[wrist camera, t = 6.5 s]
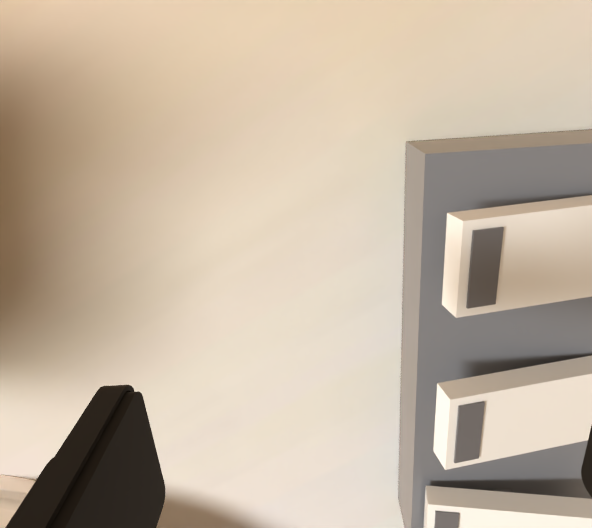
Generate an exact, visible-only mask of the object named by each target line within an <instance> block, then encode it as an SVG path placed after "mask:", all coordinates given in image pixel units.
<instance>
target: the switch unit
mask: <svg viewBox="0 0 592 528" xmlns="http://www.w3.org/2000/svg"><path fill="white" fill-rule="evenodd" d="M589 195H592V129H589V130H574V131H559V132H544V133H529V134H514V135H499V136H484V137H469V138H454V139H439V140H424V141H409V142H406V163H405V209H404V255H403V301H402V348H401V394H400V440H399V486H398V499H399V504H400V509H401V513H402V518H403V523H404V527H405V528H423V527H424V507H425V488H426V486H438V487H451V488H463V489H475V490H488V491H500V492H513V493H525V494H538V495H550V496H562V497H575V498H587V499H592V497H591V496H590V494H589V493H588V491H587V490H586V488H585V486H584V484H583V481H582V477H581V468H582V464H583V460H584V455H585V451H586V447H587V443H588V440H587V441H582V442H577V443H572V444H567V445H563V446H558V447H553V448H548V449H544V450H539V451H534V452H529V453H524V454H520V455H515V456H510V457H505V458H500V459H496V460H491V461H486V462H481V463H476V464H472V465H467V466H462V467H457V468H452V469H448V470H445V469H444V467H443V466H442V464H441V463H440V461H439V459H438V458H437V456H436V455H435V453H434V451H433V447H434V430H435V413H436V396H437V383H441V382H446V381H452V380H457V379H463V378H469V377H474V376H480V375H485V374H491V373H497V372H502V371H508V370H513V369H519V368H525V367H530V366H536V365H541V364H547V363H552V362H558V361H564V360H569V359H575V358H580V357H586V356H592V297H585V298H579V299H573V300H566V301H560V302H554V303H547V304H541V305H535V306H528V307H522V308H516V309H509V310H503V311H497V312H490V313H484V314H478V315H471V316H465V317H459V318H456V317H455V316H454V315H452V314H451V313H450V312H449V311H448V310H447V309H446V308H445V307H444V306H443V305H442V292H443V275H444V258H445V241H446V223H447V213H450V212H458V211H466V210H474V209H482V208H491V207H499V206H507V205H515V204H523V203H532V202H540V201H548V200H556V199H564V198H572V197H581V196H589Z"/></svg>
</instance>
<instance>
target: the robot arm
mask: <svg viewBox="0 0 592 528" xmlns="http://www.w3.org/2000/svg"><path fill="white" fill-rule="evenodd" d="M581 477H582V481H583V484H584V486H585V488H586V490H587V491H588V493H589V494H590V496H591V497H592V426H591V430H590V434H589V438H588V443H587V447H586V451H585V455H584V460H583V464H582V468H581ZM164 500H165V484H164V480H163V476H162V472H161V468H160V464H159V460H158V456H157V452H156V448H155V444H154V440H153V436H152V432H151V428H150V424H149V420H148V416H147V412H146V408H145V404H144V400H143V396H142V394H141V393H140V392H134V389H133V387H132V386H130V385H118V386H103V387H100V388H99V390H98V391H97V392H96V394H95V395H94V397H93V398H92V400H91V401H90V403H89V405H88V406H87V408H86V409H85V411H84V412H83V414H82V415H81V417H80V418H79V420H78V422H77V423H76V425H75V426H74V428H73V429H72V431H71V432H70V434H69V435H68V437H67V439H66V440H65V442H64V443H63V445H62V446H61V448H60V449H59V451H58V452H57V454H56V456H55V457H54V458H52V459H51V460H50V461H49V463H48V464H47V465H46V466H45V468H44V469H43V471H42V472H41V474H40V475H39V477H38V479H37V480H36V482H35V483H34V485H33V486H32V488H31V489H30V491H29V492H28V494H27V495H26V497H25V498H24V500H23V501H22V503H21V504H20V506H19V508H18V509H17V511H16V512H15V514H14V515H13V517H12V518H11V520H10V521H9V523H8V524H7V526H6V527H5V528H156V526H157V523H158V520H159V517H160V514H161V511H162V508H163V505H164Z"/></svg>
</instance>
